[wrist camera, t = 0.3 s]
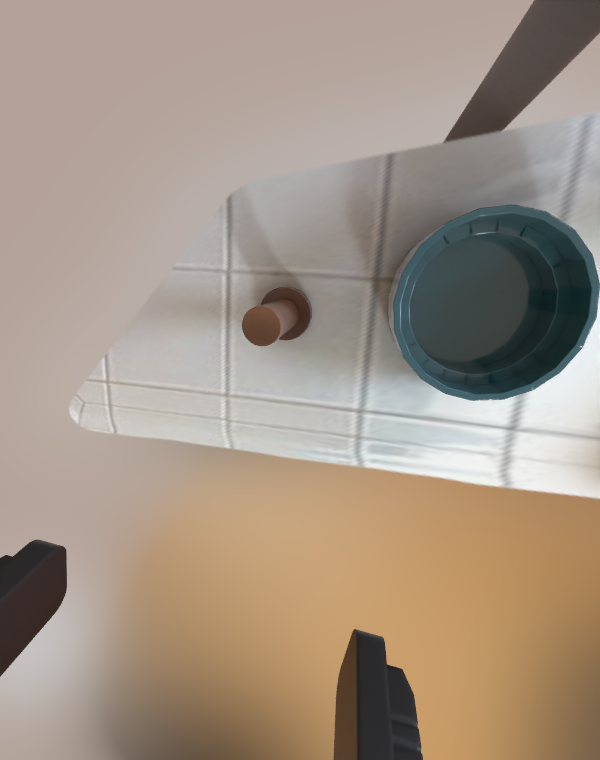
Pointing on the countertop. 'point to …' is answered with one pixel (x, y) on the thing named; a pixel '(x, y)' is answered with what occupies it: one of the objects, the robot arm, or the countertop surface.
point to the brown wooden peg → (278, 317)
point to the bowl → (494, 302)
